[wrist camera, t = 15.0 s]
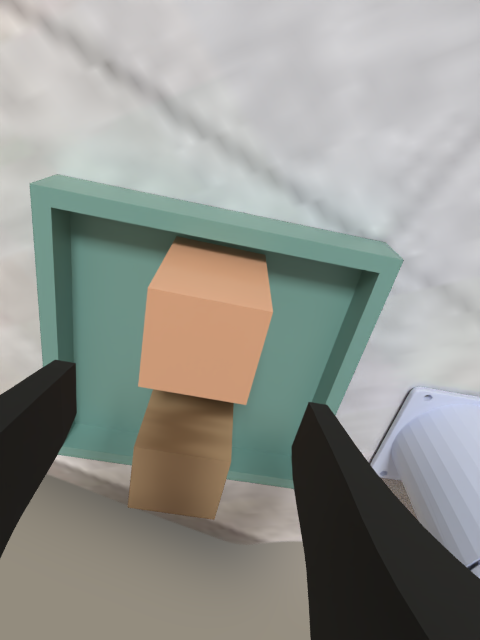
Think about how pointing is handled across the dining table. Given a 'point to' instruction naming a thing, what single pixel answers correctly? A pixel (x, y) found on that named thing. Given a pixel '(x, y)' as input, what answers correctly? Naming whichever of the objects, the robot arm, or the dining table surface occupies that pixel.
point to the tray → (130, 305)
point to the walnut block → (182, 455)
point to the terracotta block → (206, 321)
